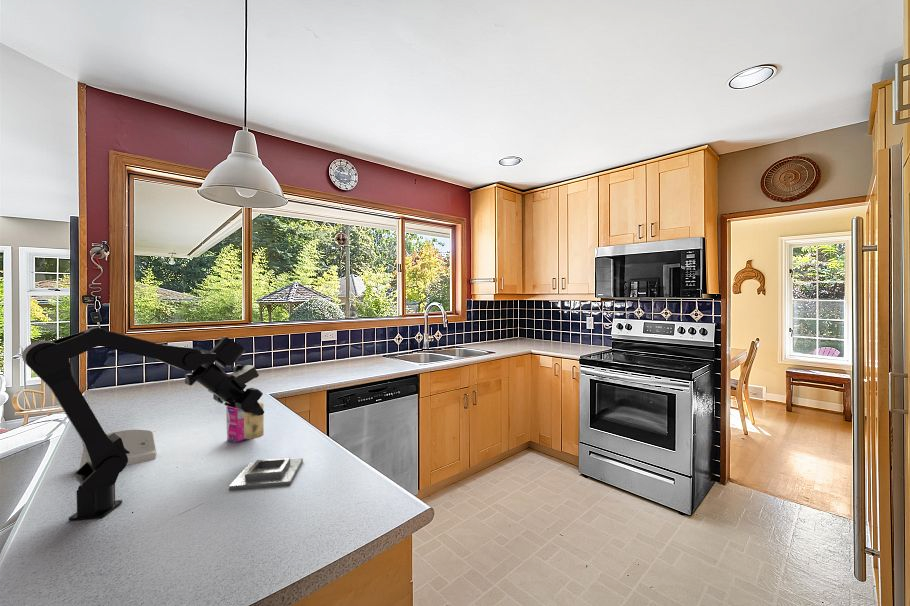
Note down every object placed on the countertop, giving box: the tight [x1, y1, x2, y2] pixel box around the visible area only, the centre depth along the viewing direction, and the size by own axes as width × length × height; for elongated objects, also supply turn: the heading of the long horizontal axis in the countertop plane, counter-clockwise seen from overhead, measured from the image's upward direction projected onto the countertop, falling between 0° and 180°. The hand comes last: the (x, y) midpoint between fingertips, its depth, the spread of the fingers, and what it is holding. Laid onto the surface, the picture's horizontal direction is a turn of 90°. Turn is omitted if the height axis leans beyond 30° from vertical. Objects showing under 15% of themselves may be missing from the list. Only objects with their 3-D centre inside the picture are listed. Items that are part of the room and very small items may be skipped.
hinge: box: [78, 428, 158, 470], centre depth 111 cm, size 17×5×10 cm, turn 128°
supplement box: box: [225, 405, 248, 444], centre depth 128 cm, size 6×6×12 cm
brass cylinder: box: [244, 402, 265, 440], centre depth 111 cm, size 5×5×9 cm
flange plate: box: [228, 457, 304, 491], centre depth 101 cm, size 14×14×2 cm
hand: (258, 412), depth 112 cm, fingers closed on brass cylinder, 5 cm apart
